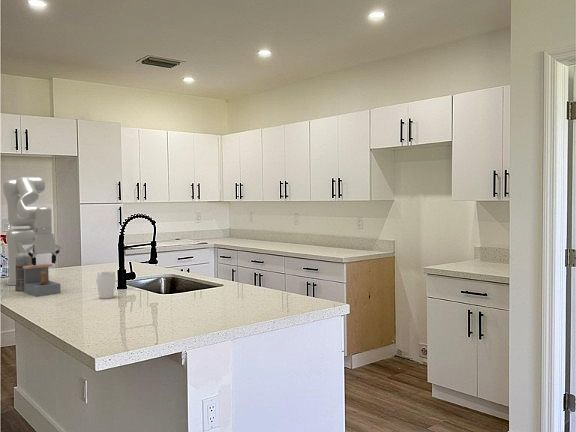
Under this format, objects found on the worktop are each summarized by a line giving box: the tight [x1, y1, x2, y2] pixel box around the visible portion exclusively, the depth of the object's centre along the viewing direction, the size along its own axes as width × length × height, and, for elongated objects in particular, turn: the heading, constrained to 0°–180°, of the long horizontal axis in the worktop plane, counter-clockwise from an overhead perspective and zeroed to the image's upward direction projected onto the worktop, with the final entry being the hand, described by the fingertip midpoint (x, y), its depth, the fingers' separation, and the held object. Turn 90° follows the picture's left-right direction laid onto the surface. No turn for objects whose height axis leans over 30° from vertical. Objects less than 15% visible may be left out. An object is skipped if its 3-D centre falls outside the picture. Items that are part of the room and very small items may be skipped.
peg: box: [41, 269, 50, 285], centre depth 265 cm, size 4×4×12 cm
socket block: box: [23, 263, 61, 298], centre depth 267 cm, size 16×13×14 cm
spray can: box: [15, 252, 32, 292], centre depth 276 cm, size 8×8×20 cm
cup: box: [95, 271, 117, 299], centre depth 255 cm, size 9×9×12 cm
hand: (43, 264), depth 265 cm, fingers open, 9 cm apart
